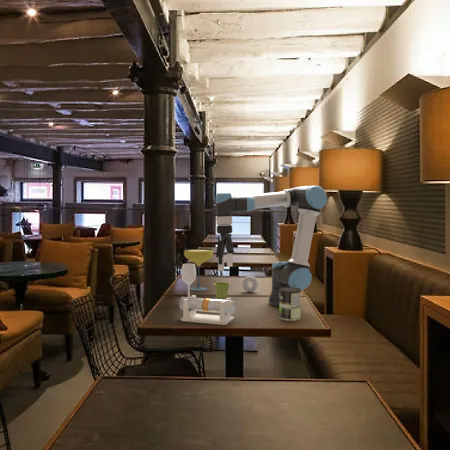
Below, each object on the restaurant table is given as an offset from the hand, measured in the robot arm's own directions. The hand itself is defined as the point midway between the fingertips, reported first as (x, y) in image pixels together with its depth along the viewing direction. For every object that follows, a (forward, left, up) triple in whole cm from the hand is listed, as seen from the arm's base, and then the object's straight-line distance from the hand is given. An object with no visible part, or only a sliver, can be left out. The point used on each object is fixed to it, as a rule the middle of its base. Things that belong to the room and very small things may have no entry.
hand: (225, 268), depth 236 cm
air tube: (+6, +10, -19) cm, 22 cm away
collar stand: (+6, +10, -23) cm, 26 cm away
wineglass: (+30, -24, -23) cm, 44 cm away
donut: (+6, -63, -23) cm, 67 cm away
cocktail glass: (+39, -61, -23) cm, 76 cm away
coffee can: (-30, -6, -23) cm, 39 cm away
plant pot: (+16, -39, -23) cm, 48 cm away
